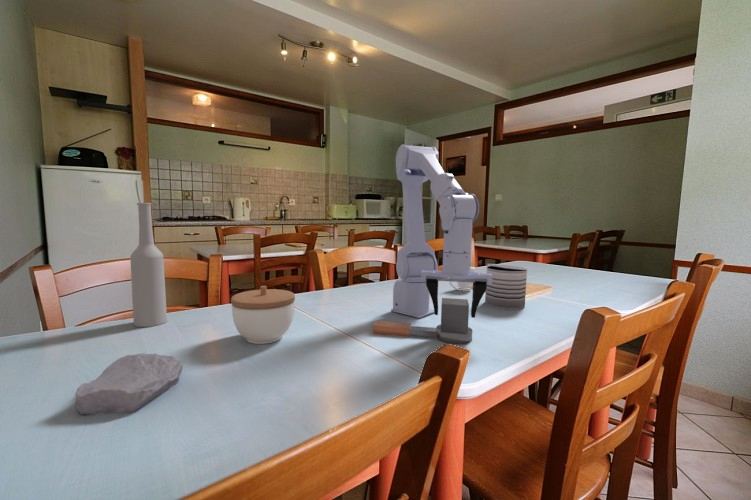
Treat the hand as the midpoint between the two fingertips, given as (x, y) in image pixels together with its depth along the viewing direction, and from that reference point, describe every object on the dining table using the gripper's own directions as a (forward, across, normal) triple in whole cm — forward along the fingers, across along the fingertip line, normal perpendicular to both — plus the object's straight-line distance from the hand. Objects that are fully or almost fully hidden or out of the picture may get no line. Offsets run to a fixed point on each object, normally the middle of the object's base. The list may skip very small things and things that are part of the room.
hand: (454, 315), depth 75 cm
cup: (+5, +4, +50) cm, 50 cm away
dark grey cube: (+3, 0, 0) cm, 3 cm away
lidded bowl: (+5, -39, -10) cm, 41 cm away
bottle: (+5, -70, -7) cm, 70 cm away
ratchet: (+5, -7, 0) cm, 8 cm away
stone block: (+6, -46, -34) cm, 57 cm away
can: (+5, +15, +33) cm, 36 cm away
